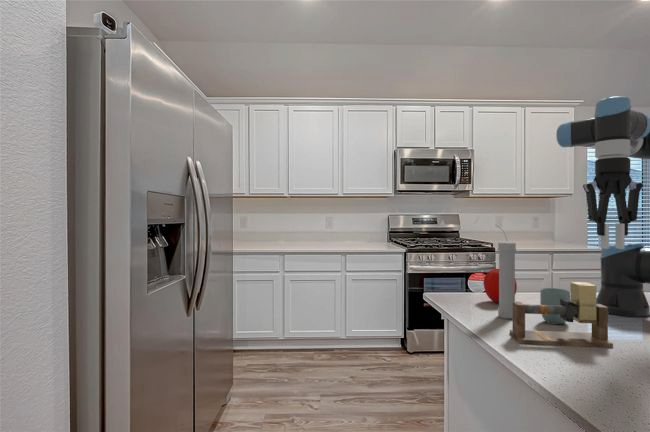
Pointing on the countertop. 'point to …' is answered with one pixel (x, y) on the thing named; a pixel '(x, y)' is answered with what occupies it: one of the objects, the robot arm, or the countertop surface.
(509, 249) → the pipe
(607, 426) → the countertop surface
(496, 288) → the tomato
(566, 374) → the countertop surface
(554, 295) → the cup
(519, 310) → the rail
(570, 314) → the dark grey square ring
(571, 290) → the sleeve
